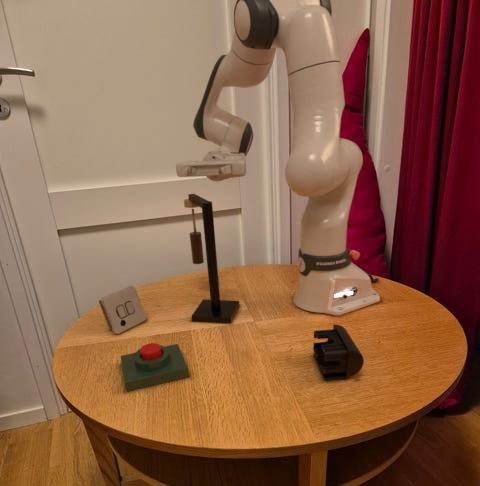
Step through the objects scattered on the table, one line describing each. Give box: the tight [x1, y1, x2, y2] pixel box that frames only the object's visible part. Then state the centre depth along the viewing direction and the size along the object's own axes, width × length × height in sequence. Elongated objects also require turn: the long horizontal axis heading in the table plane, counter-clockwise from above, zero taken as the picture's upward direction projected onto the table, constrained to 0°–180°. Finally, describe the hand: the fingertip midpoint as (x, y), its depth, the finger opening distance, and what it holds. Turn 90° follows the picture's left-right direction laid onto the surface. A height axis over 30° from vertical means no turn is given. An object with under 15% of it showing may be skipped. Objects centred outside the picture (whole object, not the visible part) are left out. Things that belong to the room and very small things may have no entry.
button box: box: [120, 343, 190, 392], centre depth 82 cm, size 12×10×4 cm
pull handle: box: [189, 208, 205, 265], centre depth 106 cm, size 3×3×14 cm
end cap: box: [312, 324, 364, 382], centre depth 79 cm, size 10×7×7 cm
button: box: [139, 342, 162, 360], centre depth 80 cm, size 4×4×2 cm
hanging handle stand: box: [183, 193, 241, 324], centre depth 101 cm, size 14×17×28 cm
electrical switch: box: [98, 285, 147, 335], centre depth 99 cm, size 9×5×9 cm, turn 141°
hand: (204, 172), depth 110 cm, fingers open, 8 cm apart
